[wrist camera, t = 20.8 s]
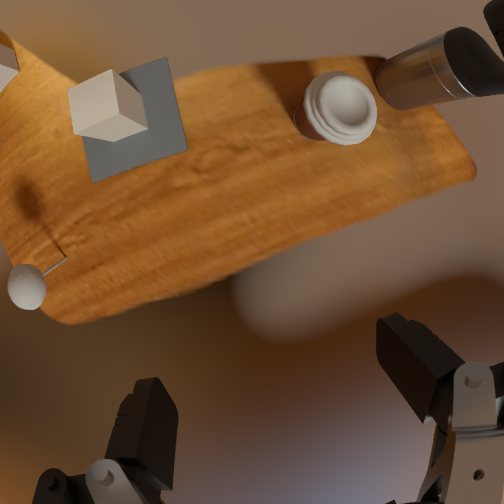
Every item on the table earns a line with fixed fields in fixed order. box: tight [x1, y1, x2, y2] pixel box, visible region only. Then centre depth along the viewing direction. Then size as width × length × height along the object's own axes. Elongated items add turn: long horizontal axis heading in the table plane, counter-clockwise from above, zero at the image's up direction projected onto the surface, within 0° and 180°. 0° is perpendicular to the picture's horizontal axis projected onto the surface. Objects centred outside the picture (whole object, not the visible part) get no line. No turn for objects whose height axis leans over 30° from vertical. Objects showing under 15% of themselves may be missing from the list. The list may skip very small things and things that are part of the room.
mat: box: [82, 57, 188, 183], centre depth 33 cm, size 15×15×1 cm
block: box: [68, 69, 148, 142], centre depth 27 cm, size 6×6×12 cm
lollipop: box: [8, 257, 67, 310], centre depth 31 cm, size 6×6×15 cm
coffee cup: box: [293, 71, 377, 146], centre depth 31 cm, size 9×9×12 cm
